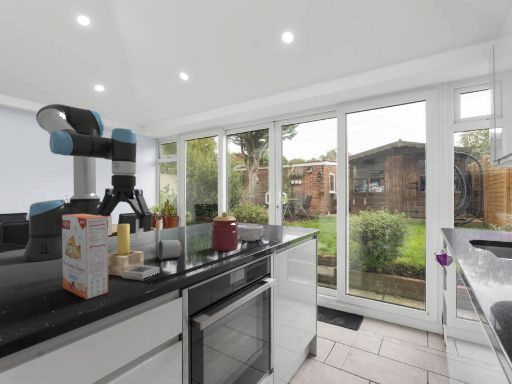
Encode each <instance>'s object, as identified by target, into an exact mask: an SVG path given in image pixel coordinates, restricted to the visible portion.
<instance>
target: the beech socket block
mask: <svg viewBox="0 0 512 384" xmlns="http://www.w3.org/2000/svg"><path fill="white" fill-rule="evenodd" d="M144 254H145V252H144V251H142V250H141V251H140V250H130V254H129V255H125V256H120V255H117V251H115V252H110V253H108V275H112V276H119V277H120V276H121V277H122V271H125V270H127V269H130V268H133V267H135V266H138V265H145V261H144V259H145V256H144Z"/></svg>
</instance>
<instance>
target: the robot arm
mask: <svg viewBox="0 0 512 384" xmlns="http://www.w3.org/2000/svg"><path fill="white" fill-rule="evenodd" d="M35 118H36V123H37V125H38V126H39V127H40V128H41V129H42V130H44V131H46V132H47V133H48V135H49V142H48V143H49V144H48V145H49V148H50V149H49V150H50V152H51V153H52V154H54V155H60V156H64V157H65V156H69V157H72V156H73V157H72V158H73V161H72V164H73V168H72V169H73V195H72V196H71V197H70V198H69V202H66V200H65V199H53V200H44V201H40V202H34V203H31V204H30V206H29V209H28V210H29V212H28V217H29V218H28V219H29V221H28V223H29V224H28V226H29V227H28V230H29V231H28V234H29V235H28V237H29V239H28V241H27V244H26V246H25V250H24V252H23V261H26V262H39V261H40V262H43V261H50V260H55V259H57V260H58V259H60V258H62V259H63V254H62V215H68V214H89V215H97V216H106V217H108V236H111V235H113V234H112V232H113V231H112V230H113V229H112V228H113V215H112V213H113V212H114V210H115V208H117V206H118V204H119V203H126V204H128V205H129V206H130V208H131V209H132V211H133V213H134V214H135V216H136V217H137V218H136V219H135V240H137V239H141V238H142V239H143V238H144V229H145V227H146V219H147V218H148V217H151V213H150V212H151V211H150V209H149V207H148V204H147V202H146V199H145V197H144V193H143V192H144V191H143V189H142V188H136V189H135V186H136V185H137V176H136V174H137V141H138V140H137V133H136V131H135V130H132V129H130V128H123V127H121V128H118V127H116V128H113V129H112V130H111V136H110V137H104V136H103V135H104V130H105V128H104V127H105V124H104V120H103V117H102V115H101V114H100V113H99V112H98V111H94V110H90V109H88V108H87V109H85V108H80V107H77V106H76V107H75V106H70V105H65V104H61V103H59V104H58V103H56V104H55V103H53V104H48V105H45V106H42V107H41V108H39V110H38V111H37V112H36V115H35ZM97 158H98V159H104V160H108V161H109V160H110V161H111V173H112V175H111V179H110V180H111V182H110V183H111V184H110V185H111V186H112V188H105V189H104V195H103V197H102V200H101V197H99V196H98V195H97V186H96V185H97V176H96V175H97V171H96V170H97V169H96V168H97V165H96V164H97V163H96V161H97V160H96V159H97Z"/></svg>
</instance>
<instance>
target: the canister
mask: <svg viewBox="0 0 512 384" xmlns="http://www.w3.org/2000/svg"><path fill="white" fill-rule="evenodd" d="M212 220H213V222H211V224H210V226H211V231H210V235H211V236H210V239H211V241H210V247H211V248H210V249H211V250H213V251H216V252H231V251H236V250H237V249H238V247H239V241H238V240H239V238H238V237H239V235H238V230H237V226H238V225H239V223H238V222H237V221H236V220H237V218H236V217H234V216H232V215H228V213H227V211H222V213H221V215H217V216H215V217H214V218H212Z"/></svg>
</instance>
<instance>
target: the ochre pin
mask: <svg viewBox="0 0 512 384" xmlns="http://www.w3.org/2000/svg"><path fill="white" fill-rule="evenodd" d="M116 226H117V227H116V228H117V232H116V233H117V237H116V241H117V242H116V249H117V251H116V252H117V255H120V256H125V255H129V254H130V251H131V249H130V248H131V246H130V245H131V243H130V241H131V239H130V237H131V236H130V235H131V234H130V233H131V232H130V230H131V229H130V228H131V225H130V223H117V225H116Z"/></svg>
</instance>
